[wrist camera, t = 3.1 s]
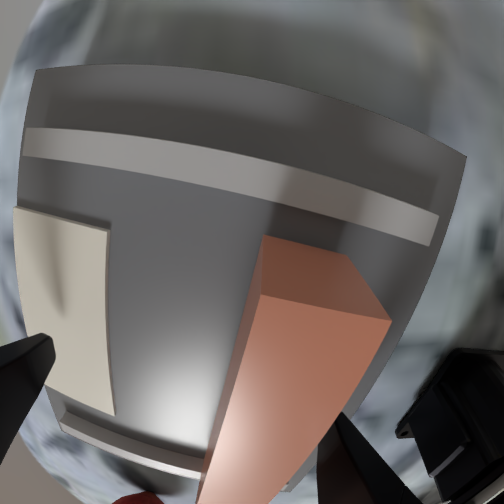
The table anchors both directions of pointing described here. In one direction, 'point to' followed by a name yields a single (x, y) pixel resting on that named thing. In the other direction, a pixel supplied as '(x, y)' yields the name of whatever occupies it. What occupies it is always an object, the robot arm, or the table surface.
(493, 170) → the table surface
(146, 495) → the pomegranate
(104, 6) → the table surface
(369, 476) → the robot arm
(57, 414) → the box
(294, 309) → the lever
